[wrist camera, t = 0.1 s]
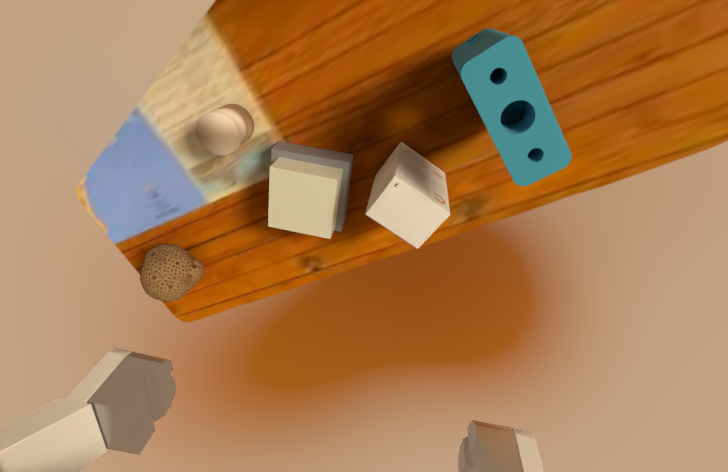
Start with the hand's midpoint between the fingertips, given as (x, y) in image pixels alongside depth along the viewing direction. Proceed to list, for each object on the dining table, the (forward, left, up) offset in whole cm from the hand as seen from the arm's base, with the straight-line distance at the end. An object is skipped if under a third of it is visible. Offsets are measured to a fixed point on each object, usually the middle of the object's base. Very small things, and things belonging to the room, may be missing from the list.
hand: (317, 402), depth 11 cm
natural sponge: (+33, -33, -48) cm, 67 cm away
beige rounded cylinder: (+8, -23, -48) cm, 54 cm away
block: (-3, +10, -48) cm, 49 cm away
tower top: (+15, -11, -44) cm, 48 cm away
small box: (+11, +3, -48) cm, 50 cm away
